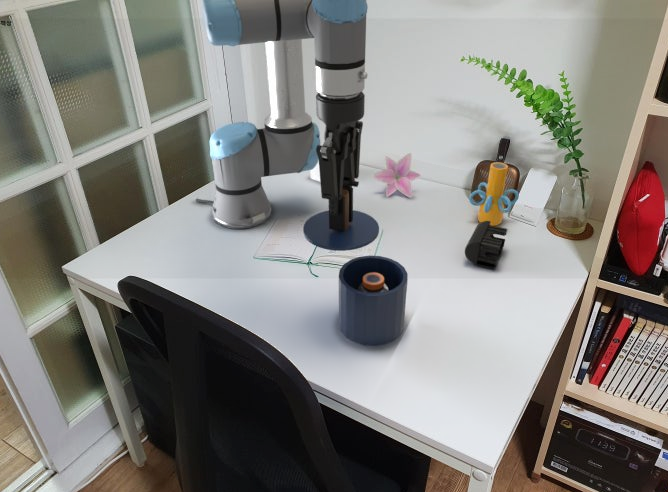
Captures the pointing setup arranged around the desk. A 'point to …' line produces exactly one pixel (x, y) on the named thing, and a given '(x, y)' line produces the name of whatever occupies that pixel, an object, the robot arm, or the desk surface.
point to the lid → (351, 238)
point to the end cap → (485, 245)
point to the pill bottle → (373, 283)
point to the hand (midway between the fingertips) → (341, 224)
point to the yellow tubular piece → (494, 195)
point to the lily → (398, 176)
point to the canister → (372, 301)
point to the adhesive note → (315, 173)
